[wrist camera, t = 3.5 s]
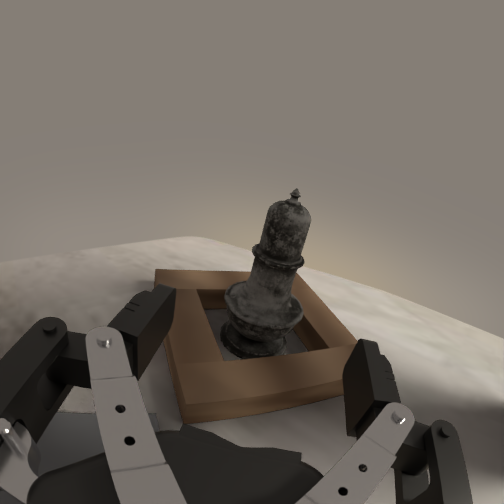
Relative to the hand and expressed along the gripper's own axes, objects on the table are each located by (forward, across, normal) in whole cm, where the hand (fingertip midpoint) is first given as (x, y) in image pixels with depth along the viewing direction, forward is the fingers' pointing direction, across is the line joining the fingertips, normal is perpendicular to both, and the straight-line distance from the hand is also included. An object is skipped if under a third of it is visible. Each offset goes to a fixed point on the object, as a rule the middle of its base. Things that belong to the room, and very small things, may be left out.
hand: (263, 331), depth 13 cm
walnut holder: (+9, 0, +8) cm, 12 cm away
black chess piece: (+9, 0, +8) cm, 12 cm away
